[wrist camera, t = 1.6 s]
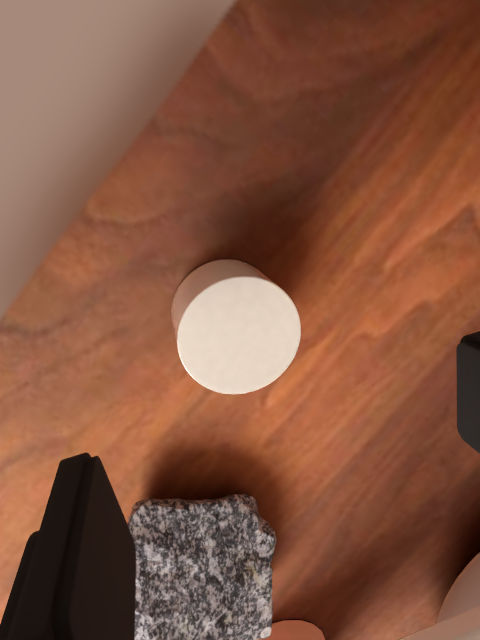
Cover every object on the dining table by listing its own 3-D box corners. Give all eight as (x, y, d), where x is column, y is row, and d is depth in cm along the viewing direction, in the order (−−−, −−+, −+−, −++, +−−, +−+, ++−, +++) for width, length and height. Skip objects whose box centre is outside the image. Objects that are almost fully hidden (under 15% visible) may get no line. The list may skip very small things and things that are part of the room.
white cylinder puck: (158, 274, 17) (161, 295, 14) (266, 247, 18) (291, 261, 15) (186, 373, 19) (194, 409, 16) (283, 344, 19) (309, 375, 16)
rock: (272, 459, 21) (300, 521, 18) (258, 596, 25) (279, 674, 21) (124, 474, 20) (120, 547, 16) (130, 620, 23) (128, 710, 19)
